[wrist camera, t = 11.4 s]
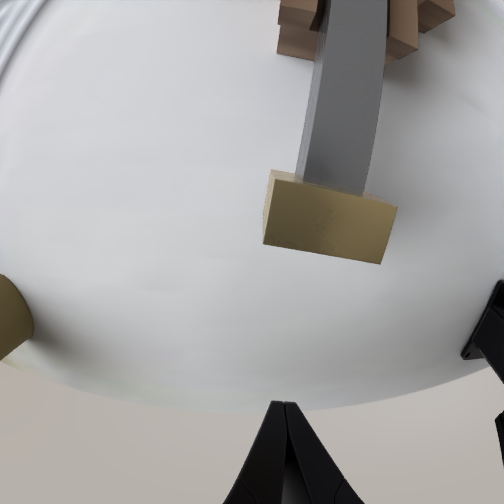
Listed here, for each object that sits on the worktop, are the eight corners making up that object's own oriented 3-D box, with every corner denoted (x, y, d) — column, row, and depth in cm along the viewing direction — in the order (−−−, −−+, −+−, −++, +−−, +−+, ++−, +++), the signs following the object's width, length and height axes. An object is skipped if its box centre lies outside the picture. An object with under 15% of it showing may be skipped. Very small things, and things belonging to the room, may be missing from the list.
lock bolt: (381, 15, 6) (417, -18, 3) (347, 229, 9) (380, 264, 6) (301, -8, 6) (314, -54, 3) (262, 213, 9) (263, 244, 6)
